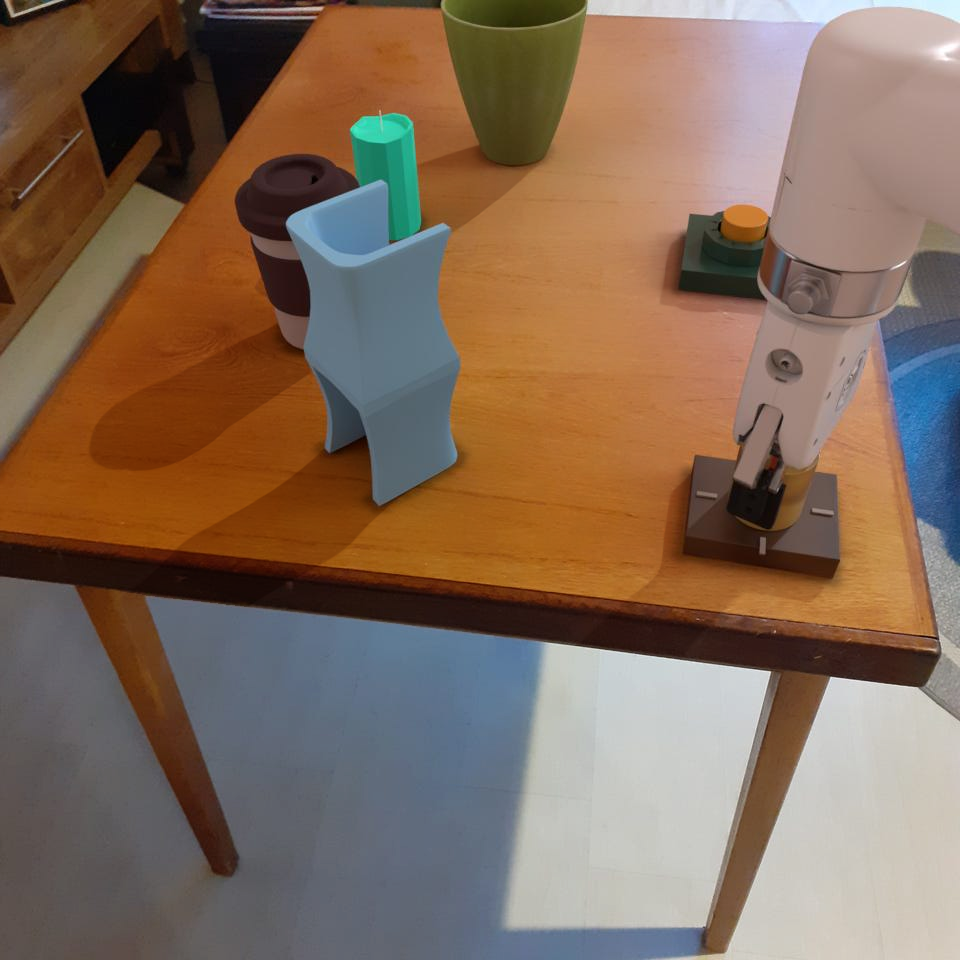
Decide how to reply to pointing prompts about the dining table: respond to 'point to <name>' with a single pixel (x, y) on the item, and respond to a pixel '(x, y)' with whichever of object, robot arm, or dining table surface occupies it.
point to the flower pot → (514, 70)
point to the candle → (390, 167)
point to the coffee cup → (265, 214)
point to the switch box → (719, 260)
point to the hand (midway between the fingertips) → (767, 490)
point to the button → (744, 223)
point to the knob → (786, 491)
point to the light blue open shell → (378, 336)
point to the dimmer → (730, 540)
